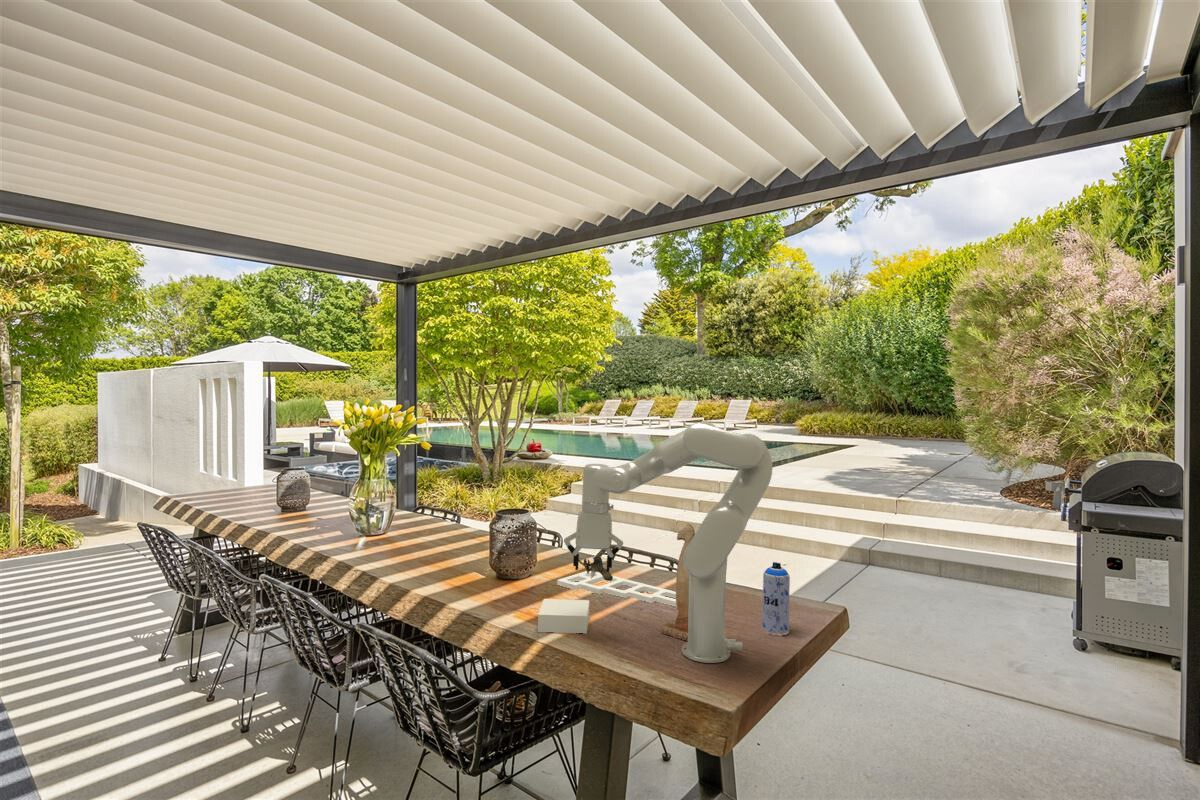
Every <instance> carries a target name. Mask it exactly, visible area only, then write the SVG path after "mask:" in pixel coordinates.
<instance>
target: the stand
mask: <svg viewBox="0 0 1200 800" xmlns="http://www.w3.org/2000/svg"><path fill="white" fill-rule="evenodd" d="M589 617H590V600H589V599H588V600H587V599H564V598H563V599H562V598H561V599H559V598H543V601H542V602H541V606H540V609H539V611H538V615H537V633H546V632H554V634H576V633H577V634H578V633H583V634H582V635H584V634H585V635H587V634H588V628H589V619H590V618H589ZM578 635H579V634H578Z"/></svg>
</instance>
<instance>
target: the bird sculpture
mask: <svg viewBox="0 0 1200 800" xmlns="http://www.w3.org/2000/svg"><path fill="white" fill-rule="evenodd" d="M695 533H696V531H695V528H694V526H693V525H692V524H690V523H686V525H685V527H684V528H683V529H680V530H679V531H677V536H676V540H677V541H680V540H681V541H683V542H684V543H683V545H682V548H681V550H680V555H679V557H678V561H677V568H676V578H675V579H676V581H675V582H676V585H675V592H676V605H677V609H676V610H677V611H678V613H677V615H676V618H675V619H674V620H673V621H672V620H671V622H668V623H665V624H663V625H662V626H661V629H660V634H662V633H664V635H665V634H667V635H666V636H668V635H670V637H671V636H673V637H672V638H675V637H676V638H675V639H677V638H679V640H681V639H682V640H681V641H684V640H686V641H688V609H689V578H690V574H689V573H688V571H687V570H686V568H685V566H684V561H683V556H684V552H685V549H686V548H687V546H688V544H689V543H690V541H691V540H692V538H693V536H694V535H695ZM686 641H685V642H686Z"/></svg>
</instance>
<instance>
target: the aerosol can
mask: <svg viewBox="0 0 1200 800" xmlns="http://www.w3.org/2000/svg"><path fill="white" fill-rule="evenodd" d="M781 564H782V563H781V562H774V561H773V562H772V566H769V567H768V568H766V569H765V570H764V571H763V578H762V579H763V581H762V618H761V619H762V621H761V622H762V624H761V629H762V628H763V629H764V630H766V631H768V632H771V633H780V634H783V633H787V632H788V631H789V632H790V630H789V629H790V628H789V625H790V624H789V623H790V584H791V583H790V582H791V581H790V579H791V578H790V573H789V572H788V571H787V570H786V569H785V568H784V567H782V565H781Z"/></svg>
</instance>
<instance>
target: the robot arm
mask: <svg viewBox="0 0 1200 800" xmlns="http://www.w3.org/2000/svg"><path fill="white" fill-rule="evenodd" d="M701 458H702V459H705V460H708V461H711V462H715V463H719V464H721V465H724V466H729V467H731V468H735V469H738V471H737V473H736V475H735V476H734V478H733V480H732V481H731V482H730V485H729V486H728V489H727V490H726V491H725V493H724V495H723V496H722V497H721V499H720V500H719V501H718V502H717V503H716V504H715V505H714V506H713V507H712V508H711V509H710V510H709V511H708V513H707V514H706V515H705V517H704V518H703V521H702V523H701V524H700V526H698V529H696V530H697V531H695V535H694V536H693V538H692V540H691V541H690V543H689V544H688V546H687V548H686V549H685V552H684V556H683V561H684V566H685V568H686V570H687V571H688V573H689V574H690V578H689V609H688V642H686V641H685V643H683V644H682V646H681V653H682V654H683V656H685V657H686V658H688V659H689V660H692V661H695V662H699V663H704V664H717V663H722V662H725V661H727V660H728V659H729V658H730V657H731V650H736V651H737V650H739V651H740V650H743V642H742V641H736V640H737V639H736V638H727V637H726V635H725V630H726V629H725V628H726V627H725V626H726V625H725V623H726V621H725V620H726V588H727V587H726V585H727V583H726V582H727V567H728V557H729V555H730V554H731V552H732V551H733V549H734V547H735V546H736V545H737V543H738V542H739V540H740V538H741V536H742V534H743V533H744V531H745V529H746V528H747V525H748V522H749V520H750V518H751V516H752V515H753V514H754V512H755V510H756V508H757V507H758V505H759V503H760V502H761V500H762V498H763V497H764V495H765V493H766V491H767V489H768V487H769V486H770V483H771V480H772V475H773V460H772V459H773V458H772V456H771V452H770V451H769V449H768V447H767V445H766V444H765V442H764V441H763V440H762V439H761V437H759V436H758V435H756V434H752V433H743V434H741V433H738V432H734V431H729V430H727V429H722V428H720V427H717V426H716V425H715V424H713V423H711V422H710V421H698V422H694V423H691V424H690V425H688V427H687V428H686V429H684V430H681V432H678V433H676V434H674V435H672V436H671V437H668V438H666V439H664V440H662V441H660V442H659V443H657V444H655V446H654V447H653V448H651V450H650V451H648V452H647V453H645V454H643V455H641V456H639V457H637V458H635V459H633V460H631V461H629V462H627V463H624V464H621V465H617V466H609V465H608V464H604V463H602V464H601V463H588V464H585V466H584V467H583V473H582V474H583V476H582V498H581V510H580V511H579V512H578V514H577V515H578V516H577V521H576V530H575V532H573V533H571V534H570V535H568V536H566V537H564V540H563V542H564V545H565V546H566V547H567V549H568V551H569V552H570V553H571V554H572V555H573V562H572V563H573V564H572V566H573V567H575V571H578V570H579V565H580V562H579V560H580V559H579V557H580V554H579V552H580V551H581V550H582V549H583V550H584V549H585V550H588V549H589V550H605V552H606V554H607V555H606V556H607V557H606V570H607V572H609V573H610V569H612V568H613V557H614V556H615V555H616V554H617V553H619V551H620V550H621V548H622V547H623V545H624V541H623V540H622V539H620V538H619V537H618V536H616V535H615V534H613V528H612V527H613V526H612V525H613V522H612V521H613V520H612V513H611V512H610V510H614V504H611V503H610V501H609V500H610V499H609V498H610V493H611V494H615V495H616V494H617V495H622V494H626V493H628V492H629V491H632V490H634V489H637V488H639V487H640V486H643V485H644V484H646V483H648V482H651V481H652V480H654V479H657V478H659V477H661V476H664V475H666V474H670V473H672V472H674V471H677V470H678V469H680V468H681V469H682V468H683V467H684V466H686V465H688V464H690V463H692V462H695V461H697V460H698V459H701ZM573 540H575V547H574V546H573V545H572V542H571V541H573ZM612 542H614V543H616V546H614V547H613V549H612V548H611V547H612Z"/></svg>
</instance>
